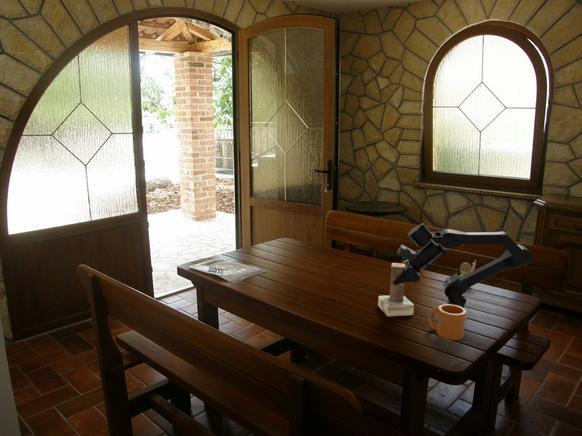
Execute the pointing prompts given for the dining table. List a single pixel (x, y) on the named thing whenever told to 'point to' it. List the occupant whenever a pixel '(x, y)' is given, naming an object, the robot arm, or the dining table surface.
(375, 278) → the dining table surface
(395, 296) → the tan wooden block
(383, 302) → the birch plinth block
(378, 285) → the dining table surface
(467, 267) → the snail figurine
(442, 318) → the mug
